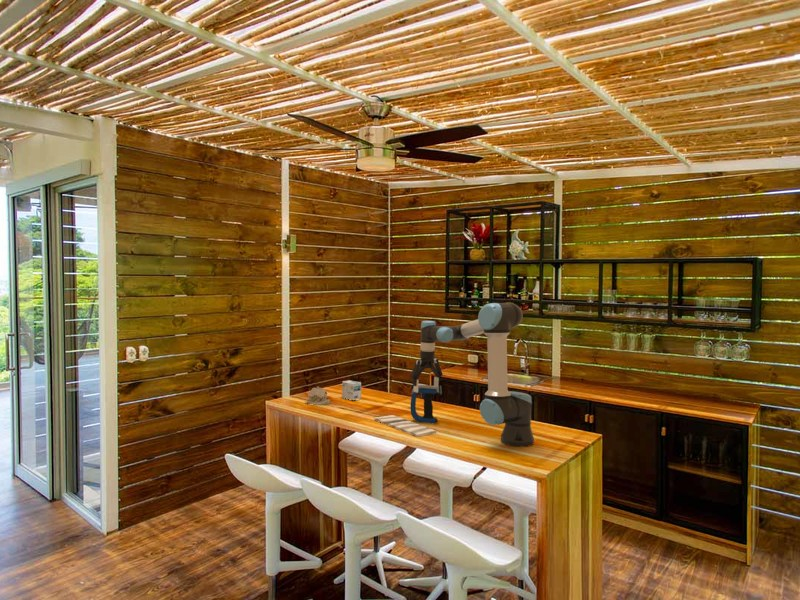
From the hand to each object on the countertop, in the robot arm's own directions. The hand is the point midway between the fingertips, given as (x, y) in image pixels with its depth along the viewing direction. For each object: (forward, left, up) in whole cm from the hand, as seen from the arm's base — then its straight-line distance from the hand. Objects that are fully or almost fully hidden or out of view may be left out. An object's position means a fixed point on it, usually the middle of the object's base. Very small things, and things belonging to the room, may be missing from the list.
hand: (426, 390), depth 281 cm
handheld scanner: (0, 0, -17) cm, 17 cm away
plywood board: (-1, +15, -16) cm, 22 cm away
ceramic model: (+66, +28, -17) cm, 74 cm away
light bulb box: (+66, +5, -17) cm, 68 cm away
